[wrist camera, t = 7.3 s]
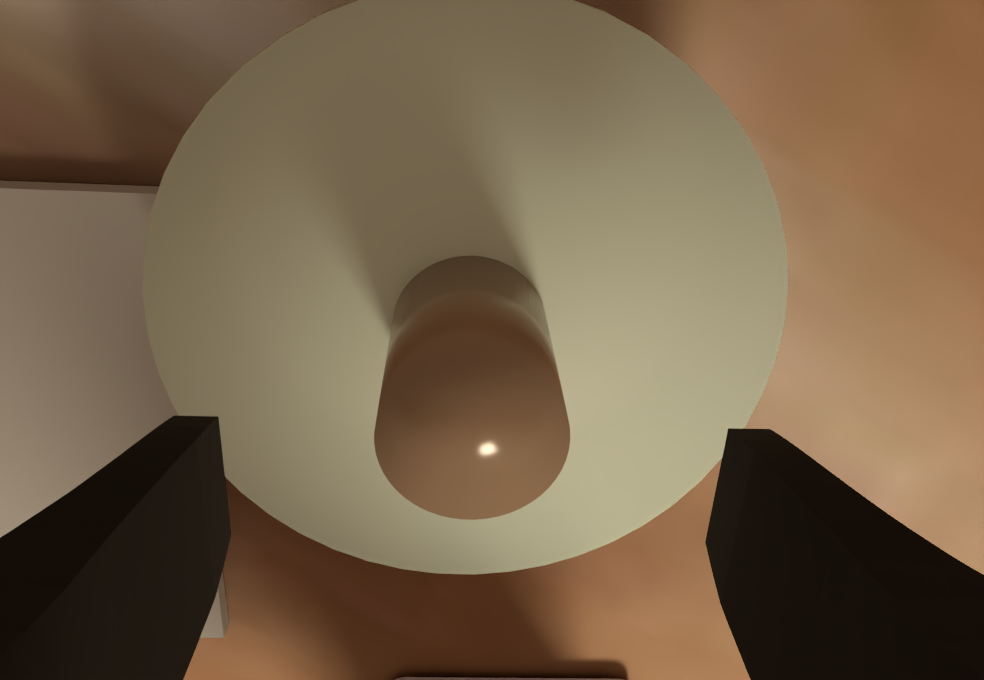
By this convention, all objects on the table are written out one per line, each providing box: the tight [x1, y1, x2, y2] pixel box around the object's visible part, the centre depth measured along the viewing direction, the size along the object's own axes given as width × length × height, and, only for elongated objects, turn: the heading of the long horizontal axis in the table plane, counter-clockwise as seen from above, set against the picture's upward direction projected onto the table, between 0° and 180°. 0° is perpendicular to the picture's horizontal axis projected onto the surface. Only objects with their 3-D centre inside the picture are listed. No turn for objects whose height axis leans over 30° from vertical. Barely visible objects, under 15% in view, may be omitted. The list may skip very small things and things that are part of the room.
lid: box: [142, 0, 788, 575], centre depth 15 cm, size 12×12×5 cm
